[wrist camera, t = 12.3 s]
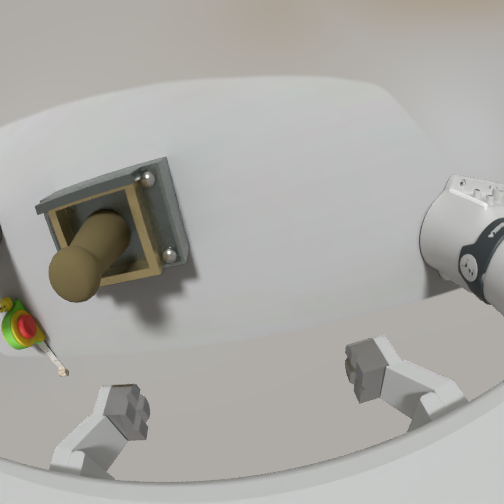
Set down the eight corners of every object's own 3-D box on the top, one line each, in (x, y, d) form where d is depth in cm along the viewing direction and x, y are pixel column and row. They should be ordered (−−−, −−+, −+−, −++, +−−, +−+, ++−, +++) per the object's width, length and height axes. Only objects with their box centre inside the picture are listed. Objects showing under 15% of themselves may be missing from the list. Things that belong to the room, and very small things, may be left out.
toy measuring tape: (19, 286, 39) (0, 307, 33) (77, 370, 47) (67, 395, 41) (0, 294, 39) (-18, 315, 33) (55, 374, 48) (45, 397, 42)
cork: (110, 267, 34) (77, 323, 24) (74, 233, 32) (30, 281, 22) (140, 235, 33) (111, 288, 23) (102, 198, 30) (57, 238, 21)
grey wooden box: (166, 156, 34) (149, 168, 26) (189, 246, 39) (182, 280, 31) (57, 190, 34) (22, 211, 26) (86, 269, 39) (61, 303, 31)
